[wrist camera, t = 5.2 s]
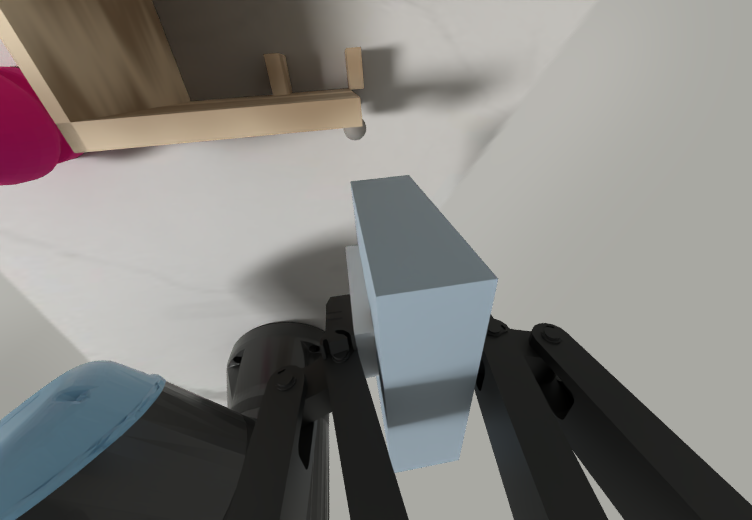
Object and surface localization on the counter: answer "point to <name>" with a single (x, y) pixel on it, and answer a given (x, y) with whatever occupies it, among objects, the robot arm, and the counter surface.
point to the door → (421, 318)
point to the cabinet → (150, 81)
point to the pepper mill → (27, 132)
